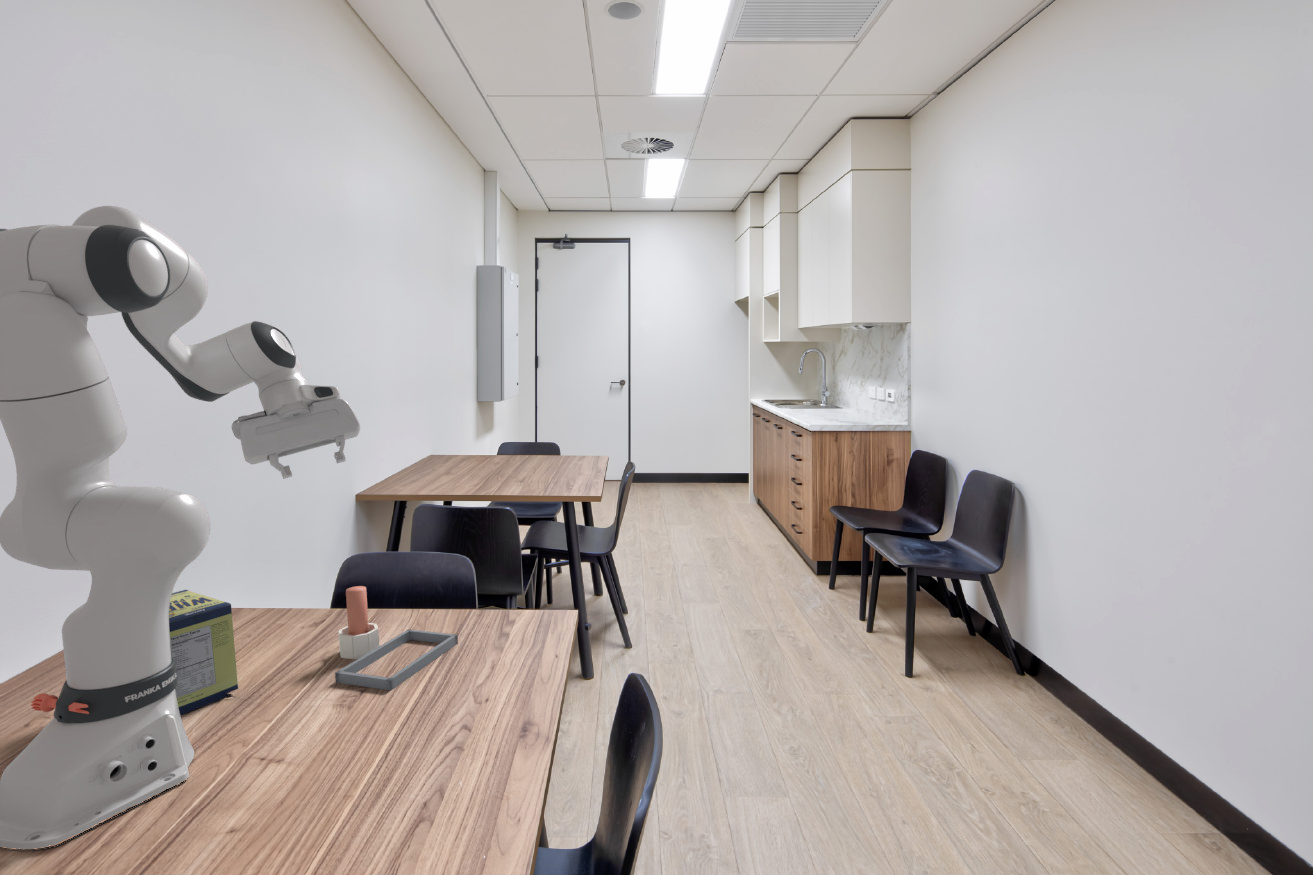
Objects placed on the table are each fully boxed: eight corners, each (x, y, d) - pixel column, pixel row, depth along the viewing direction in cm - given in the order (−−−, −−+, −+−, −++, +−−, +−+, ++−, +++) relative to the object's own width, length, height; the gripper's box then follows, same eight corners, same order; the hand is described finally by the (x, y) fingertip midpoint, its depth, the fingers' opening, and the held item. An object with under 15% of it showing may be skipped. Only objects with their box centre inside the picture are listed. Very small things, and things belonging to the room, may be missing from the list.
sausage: (361, 655, 128) (357, 592, 127) (345, 653, 129) (341, 591, 128) (373, 648, 132) (370, 586, 130) (358, 646, 133) (354, 585, 131)
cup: (362, 664, 126) (361, 638, 126) (332, 660, 128) (330, 634, 128) (386, 649, 133) (385, 624, 132) (357, 646, 135) (355, 621, 134)
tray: (391, 694, 115) (390, 680, 114) (335, 686, 118) (335, 672, 118) (458, 647, 134) (457, 634, 133) (409, 641, 137) (408, 629, 137)
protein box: (192, 672, 124) (185, 588, 122) (240, 692, 116) (233, 602, 114) (124, 696, 115) (115, 606, 114) (171, 720, 107) (162, 623, 106)
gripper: (226, 411, 123) (252, 480, 121) (345, 384, 135) (371, 446, 132) (229, 426, 129) (254, 492, 126) (343, 399, 140) (368, 459, 137)
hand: (315, 468), depth 129 cm, fingers open, 8 cm apart
